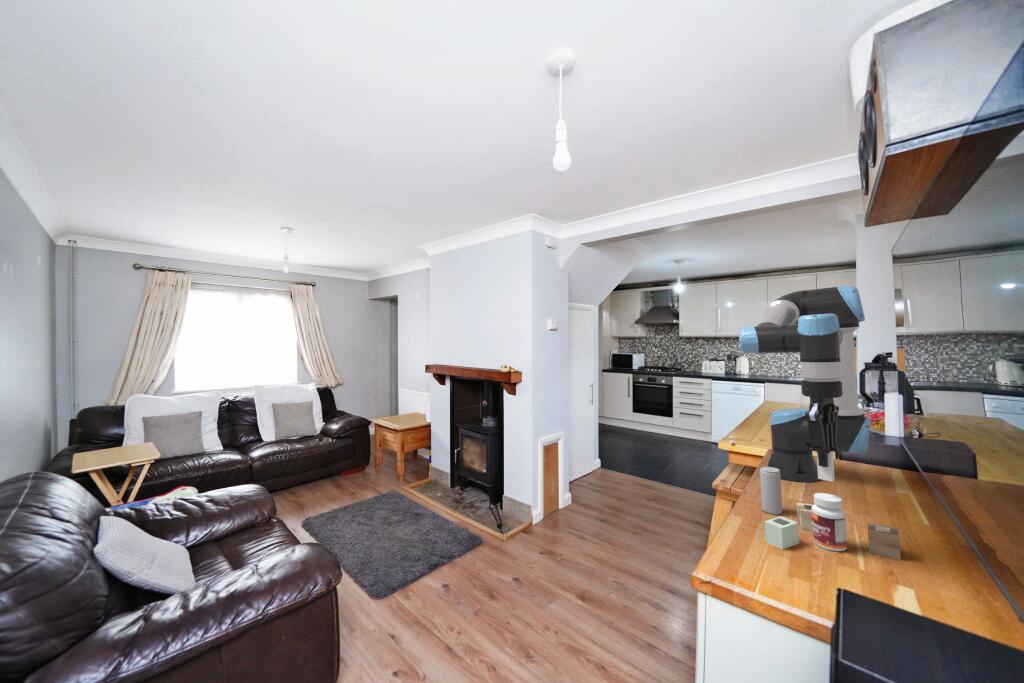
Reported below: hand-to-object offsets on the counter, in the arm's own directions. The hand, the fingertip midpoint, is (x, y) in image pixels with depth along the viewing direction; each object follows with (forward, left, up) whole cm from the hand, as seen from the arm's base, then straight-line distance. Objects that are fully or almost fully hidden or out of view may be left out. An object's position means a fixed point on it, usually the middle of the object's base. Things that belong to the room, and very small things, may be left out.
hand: (826, 479), depth 90 cm
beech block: (-7, -6, -16) cm, 18 cm away
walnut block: (-6, +8, -16) cm, 18 cm away
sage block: (+7, -7, -16) cm, 18 cm away
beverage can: (-9, -16, -16) cm, 24 cm away
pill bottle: (0, 0, -16) cm, 16 cm away
